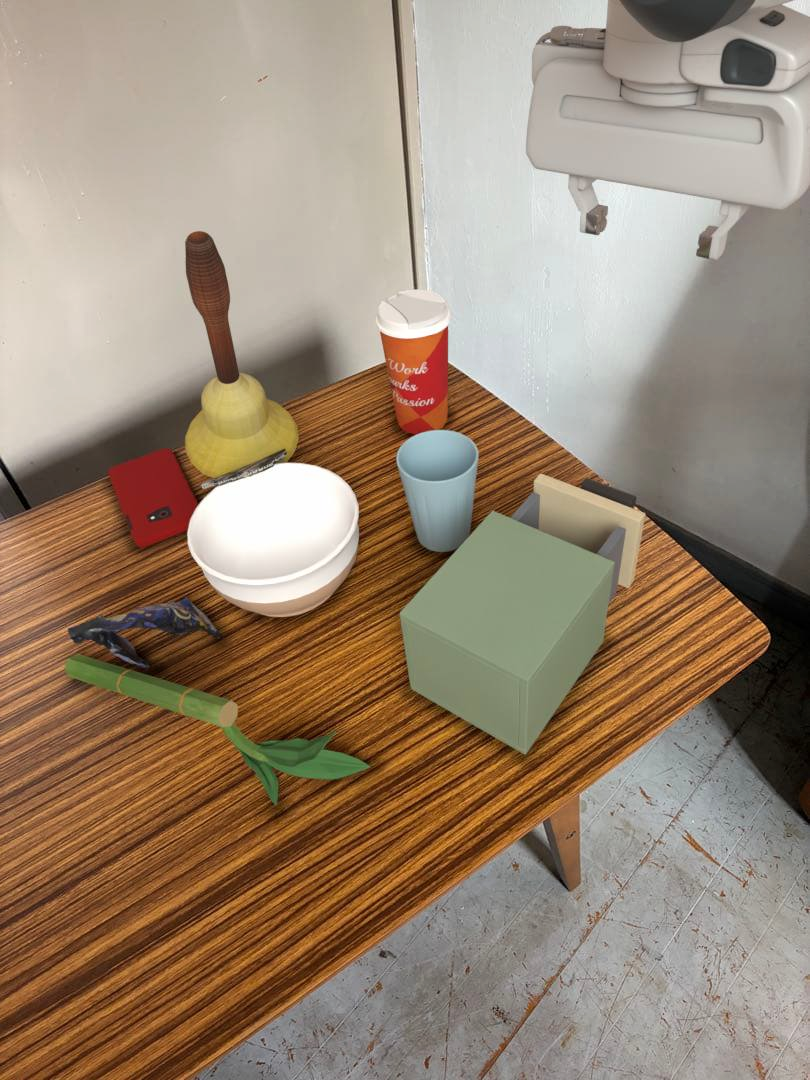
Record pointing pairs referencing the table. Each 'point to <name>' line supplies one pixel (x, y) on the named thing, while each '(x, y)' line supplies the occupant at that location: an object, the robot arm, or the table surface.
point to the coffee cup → (416, 357)
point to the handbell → (228, 382)
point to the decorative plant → (221, 724)
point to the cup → (439, 486)
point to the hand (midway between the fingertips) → (649, 243)
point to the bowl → (277, 538)
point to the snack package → (160, 616)
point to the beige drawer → (588, 521)
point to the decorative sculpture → (246, 470)
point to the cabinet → (507, 628)
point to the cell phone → (153, 496)
